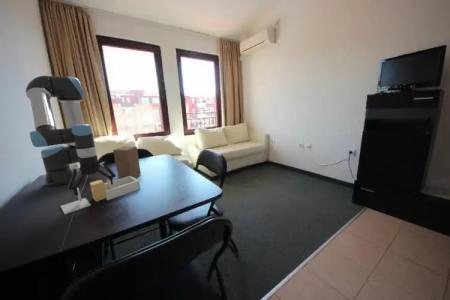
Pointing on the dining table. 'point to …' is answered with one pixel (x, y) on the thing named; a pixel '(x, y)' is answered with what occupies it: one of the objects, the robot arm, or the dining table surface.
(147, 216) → the dining table surface
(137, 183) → the white u-shaped frame
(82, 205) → the tile
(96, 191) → the block
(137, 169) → the wooden block
